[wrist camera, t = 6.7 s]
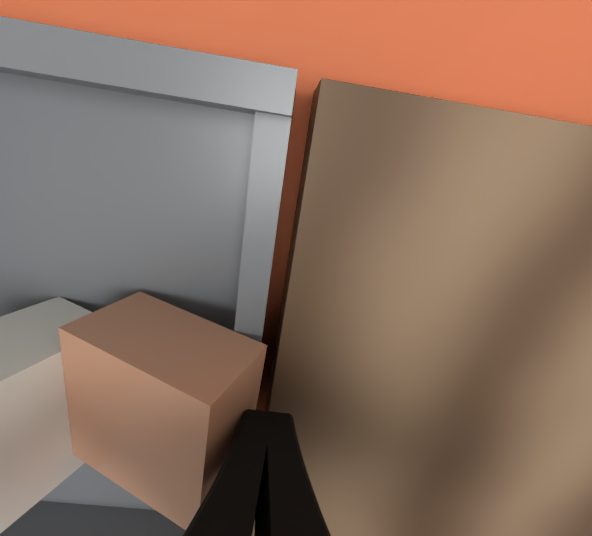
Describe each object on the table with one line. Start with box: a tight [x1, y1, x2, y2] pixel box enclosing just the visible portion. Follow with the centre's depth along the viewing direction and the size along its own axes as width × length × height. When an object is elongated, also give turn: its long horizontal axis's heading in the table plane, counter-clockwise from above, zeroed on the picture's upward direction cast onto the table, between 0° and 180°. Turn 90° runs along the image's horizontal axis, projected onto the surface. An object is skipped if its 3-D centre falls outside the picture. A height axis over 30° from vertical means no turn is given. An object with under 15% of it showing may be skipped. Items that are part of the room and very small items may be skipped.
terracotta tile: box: [58, 292, 267, 530], centre depth 9 cm, size 4×4×2 cm
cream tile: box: [0, 296, 92, 533], centre depth 9 cm, size 4×4×2 cm
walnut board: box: [252, 78, 592, 536], centre depth 12 cm, size 14×18×2 cm
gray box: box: [0, 16, 298, 536], centre depth 10 cm, size 11×18×5 cm, turn 171°
